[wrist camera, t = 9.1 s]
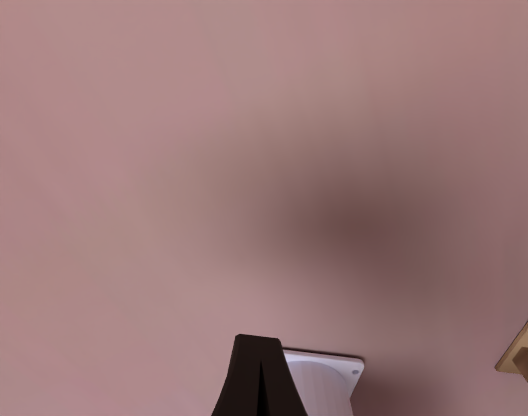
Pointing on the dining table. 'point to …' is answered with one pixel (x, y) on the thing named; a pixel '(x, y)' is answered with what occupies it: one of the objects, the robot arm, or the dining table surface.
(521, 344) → the chute
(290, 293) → the dining table surface
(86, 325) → the dining table surface
